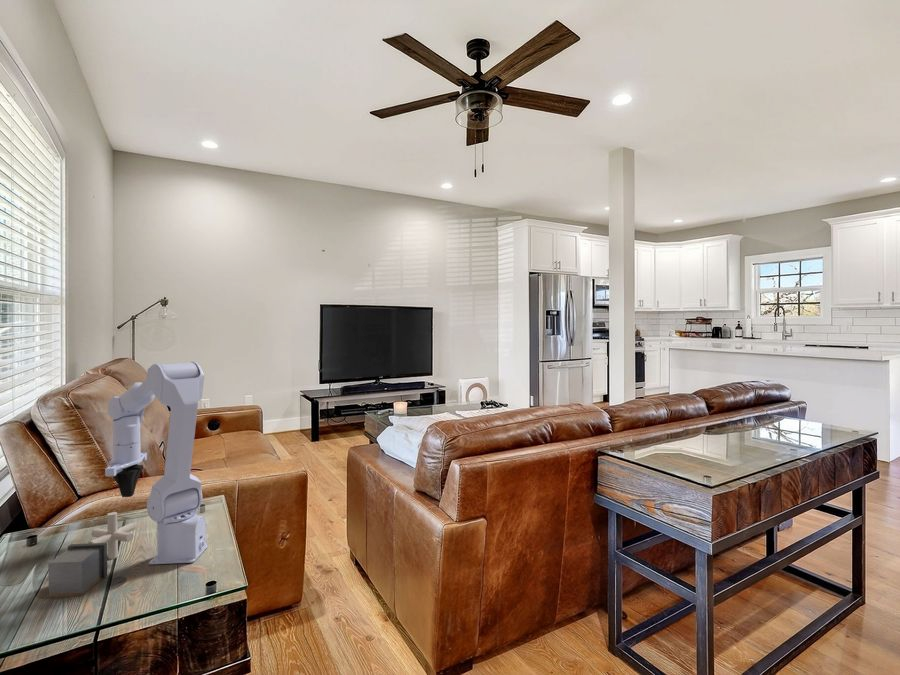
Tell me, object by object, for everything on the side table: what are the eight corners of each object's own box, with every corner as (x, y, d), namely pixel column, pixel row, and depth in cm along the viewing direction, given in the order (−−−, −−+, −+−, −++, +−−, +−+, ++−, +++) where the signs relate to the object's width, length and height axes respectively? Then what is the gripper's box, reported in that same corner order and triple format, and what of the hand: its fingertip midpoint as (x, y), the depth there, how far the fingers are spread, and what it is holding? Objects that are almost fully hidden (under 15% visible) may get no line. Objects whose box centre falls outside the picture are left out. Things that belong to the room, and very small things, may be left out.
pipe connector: (109, 571, 101) (108, 525, 101) (73, 565, 104) (72, 520, 103) (149, 549, 111) (149, 507, 111) (116, 544, 113) (115, 503, 113)
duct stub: (71, 578, 98) (71, 544, 98) (107, 576, 99) (106, 542, 99) (46, 597, 91) (45, 560, 91) (84, 595, 92) (84, 558, 92)
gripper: (127, 436, 127) (127, 487, 127) (91, 450, 112) (92, 507, 112) (154, 436, 127) (155, 486, 127) (122, 449, 113) (123, 506, 113)
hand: (127, 496), depth 120 cm, fingers closed
